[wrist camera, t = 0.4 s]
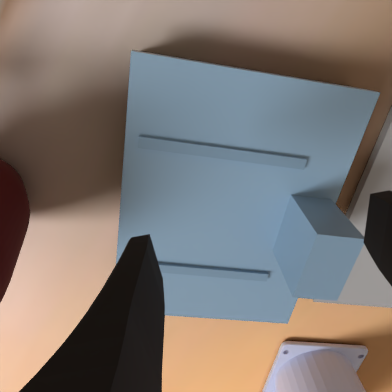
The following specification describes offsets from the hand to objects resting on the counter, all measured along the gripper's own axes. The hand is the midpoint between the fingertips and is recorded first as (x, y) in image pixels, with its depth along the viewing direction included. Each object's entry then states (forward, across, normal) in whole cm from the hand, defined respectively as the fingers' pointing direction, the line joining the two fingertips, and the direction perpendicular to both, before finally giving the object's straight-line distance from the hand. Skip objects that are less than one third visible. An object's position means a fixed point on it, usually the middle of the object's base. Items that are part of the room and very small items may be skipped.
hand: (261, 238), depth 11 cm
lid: (+9, 0, +5) cm, 10 cm away
